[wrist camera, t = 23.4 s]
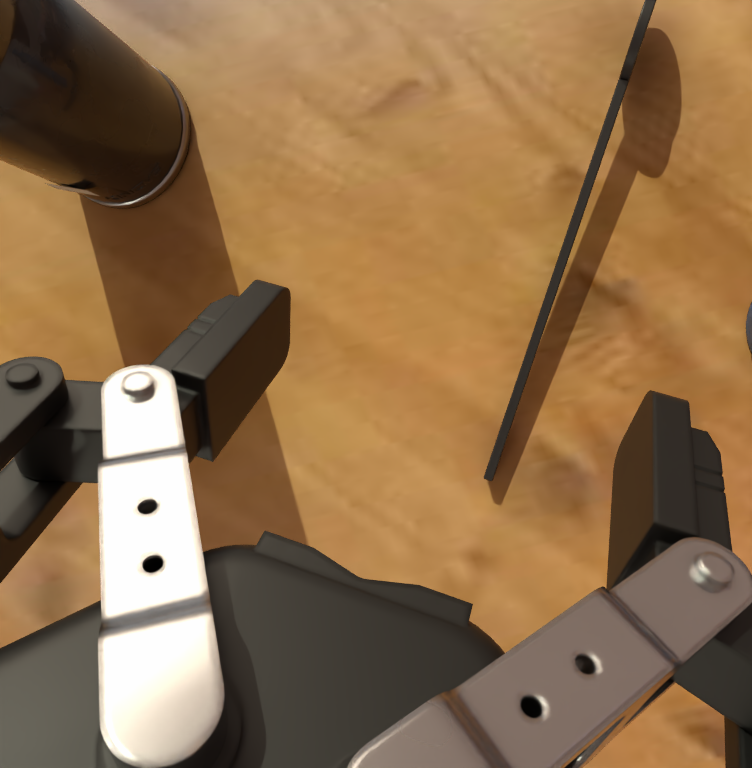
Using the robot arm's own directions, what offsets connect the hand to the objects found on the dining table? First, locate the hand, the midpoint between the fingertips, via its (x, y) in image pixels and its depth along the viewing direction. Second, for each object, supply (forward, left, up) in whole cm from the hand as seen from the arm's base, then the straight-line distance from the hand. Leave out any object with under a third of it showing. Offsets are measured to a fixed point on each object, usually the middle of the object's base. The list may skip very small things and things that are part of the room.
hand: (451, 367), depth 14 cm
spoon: (+5, -3, -22) cm, 23 cm away
